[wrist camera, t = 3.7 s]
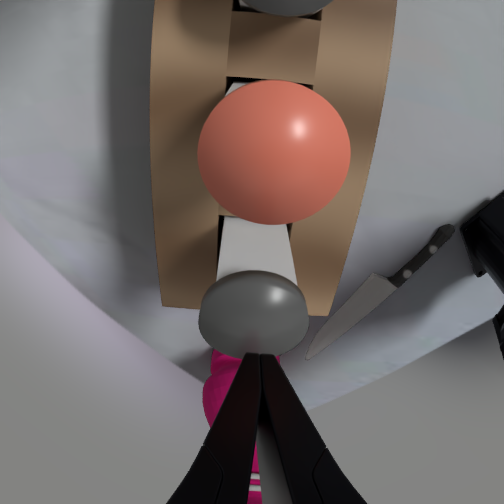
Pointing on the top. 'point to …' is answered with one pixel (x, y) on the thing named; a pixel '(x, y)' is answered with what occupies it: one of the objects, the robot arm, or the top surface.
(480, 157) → the top surface
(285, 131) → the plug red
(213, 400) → the pepper mill
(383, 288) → the chef's knife
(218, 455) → the robot arm
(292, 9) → the plug
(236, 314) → the plug
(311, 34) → the socket board
